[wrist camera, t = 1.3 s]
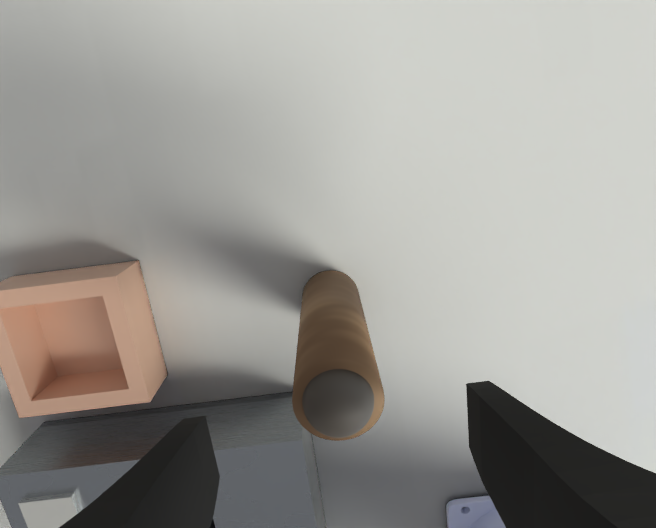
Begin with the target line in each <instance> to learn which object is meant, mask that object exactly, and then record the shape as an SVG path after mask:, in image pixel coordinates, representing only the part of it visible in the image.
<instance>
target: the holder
mask: <svg viewBox="0 0 656 528" xmlns="http://www.w3.org/2000/svg"><path fill="white" fill-rule="evenodd" d="M0 367H1V370H2V373H3V375H4V378H5V381H6V383H7V386H8V389H9V391H10V394H11V397H12V400H13V402H14V405H15V408H16V410H17V413H18V416H19V418H24V417H32V416H40V415H49V414H57V413H65V412H73V411H81V410H90V409H98V408H106V407H114V406H122V405H131V404H139V403H147V402H151V400H152V399H153V397H154V395H155V394H156V392H157V391H158V389H159V387H160V386H161V384H162V383H163V381H164V379H165V378H166V376H167V375H168V374H167V370H166V366H165V362H164V358H163V354H162V350H161V346H160V342H159V338H158V334H157V330H156V326H155V322H154V318H153V314H152V310H151V306H150V303H149V299H148V295H147V291H146V287H145V283H144V279H143V275H142V271H141V267H140V263H139V260H137V261H129V262H121V263H113V264H105V265H97V266H90V267H82V268H74V269H66V270H58V271H50V272H42V273H34V274H27V275H19V276H12V277H10V278H7V279H5V280H3V281H1V282H0Z"/></svg>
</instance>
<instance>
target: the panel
mask: <svg viewBox="0 0 656 528" xmlns="http://www.w3.org/2000/svg"><path fill="white" fill-rule="evenodd" d="M292 395H293V392H287V393H279V394H270V395H262V396H254V397H246V398H238V399H229V400H221V401H213V402H205V403H197V404H188V405H180V406H172V407H164V408H156V409H147V410H139V411H131V412H123V413H115V414H106V415H98V416H90V417H82V418H74V419H65V420H57V421H49V422H44V423H43V424H42V425H41V426H40V427H39V428H38V429H37V430H36V431H35V432H34V433H33V434H32V435H31V436H30V437H29V439H28V440H27V441H26V442H25V443H24V444H23V445H22V446H21V447H20V448H19V449H18V450H17V451H16V452H15V453H14V454H13V455H12V456H11V457H10V458H9V459H8V461H7V462H6V463H5V464H4V465H3V466H2V467H1V468H0V500H1V502H2V505H3V507H4V510H5V512H6V514H7V517H8V519H9V522H10V524H11V527H12V528H59V527H60V526H62V525H63V524H65V523H66V522H67V521H68V520H70V519H71V518H72V517H74V516H75V515H76V514H78V513H79V512H80V511H82V510H83V509H84V508H85V507H87V506H88V505H89V504H90V503H92V502H93V501H94V500H95V499H97V498H98V497H99V496H100V495H101V494H103V493H104V492H105V491H106V490H107V489H108V488H109V487H110V486H112V485H113V484H114V483H115V482H116V481H117V480H118V479H120V478H121V477H122V476H123V475H124V474H125V473H126V472H127V471H129V470H130V469H131V468H132V467H133V466H134V465H135V464H136V463H137V462H138V461H139V460H140V459H141V458H142V457H143V456H145V455H146V454H147V453H148V452H149V451H150V450H151V449H152V448H153V447H154V446H155V445H156V444H157V443H158V442H159V441H160V440H161V439H162V438H163V437H164V436H165V435H166V434H167V433H168V432H169V431H170V430H171V429H172V428H174V427H175V426H176V425H177V424H178V423H179V422H180V421H181V420H182V419H184V418H191V417H199V416H206V420H207V424H208V428H209V433H210V437H211V441H212V445H213V450H214V454H215V458H216V462H217V467H218V471H219V475H220V480H219V486H218V493H217V499H216V505H215V510H214V515H213V519H212V522H211V526H210V528H326V522H325V515H324V509H323V503H322V496H321V490H320V484H319V478H318V471H317V465H316V459H315V452H314V446H313V440H312V433H310V432H309V431H307V430H306V429H305V428H304V427H303V426H302V425H301V424H300V423H299V421H298V420H297V418H296V416H295V414H294V411H293V406H292Z"/></svg>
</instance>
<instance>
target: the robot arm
mask: <svg viewBox="0 0 656 528" xmlns="http://www.w3.org/2000/svg"><path fill="white" fill-rule="evenodd" d="M466 385H467V407H468V430H469V448H470V450H471V453H472V456H473V459H474V461H475V464H476V467H477V469H478V472H479V475H480V477H481V480H482V482H483V484H484V486H485V488H486V490H487V492H488V494H489V495H488V496H479V497H471V498H462V499H454V500H451V501H449V502H448V503H447V505H446V514H447V528H656V473H653V472H651V471H648V470H646V469H643V468H641V467H639V466H636V465H634V464H632V463H629V462H627V461H625V460H623V459H621V458H619V457H617V456H615V455H612V454H610V453H608V452H606V451H604V450H602V449H600V448H598V447H596V446H594V445H592V444H590V443H588V442H586V441H584V440H583V439H581V438H579V437H577V436H575V435H574V434H572V433H570V432H568V431H567V430H565V429H563V428H561V427H560V426H558V425H556V424H555V423H553V422H551V421H550V420H548V419H546V418H545V417H543V416H542V415H540V414H538V413H537V412H535V411H534V410H532V409H531V408H529V407H528V406H526V405H525V404H523V403H522V402H520V401H519V400H517V399H516V398H514V397H513V396H511V395H510V394H508V393H507V392H505V391H504V390H502V389H501V388H499V387H498V386H496V385H495V384H493V383H491V382H490V381H484V382H476V383H468V384H466ZM219 480H220V475H219V471H218V467H217V462H216V458H215V454H214V450H213V445H212V441H211V437H210V433H209V428H208V424H207V420H206V416H199V417H191V418H184V419H182V420H181V421H180V422H179V423H178V424H177V425H176V426H175V427H174V428H172V429H171V430H170V431H169V432H168V433H167V434H166V435H165V436H164V437H163V438H162V439H161V440H160V441H159V442H158V443H157V444H156V445H155V446H154V447H153V448H152V449H151V450H150V451H149V452H148V453H147V454H146V455H145V456H143V457H142V458H141V459H140V460H139V461H138V462H137V463H136V464H135V465H134V466H133V467H132V468H131V469H130V470H129V471H127V472H126V473H125V474H124V475H123V476H122V477H121V478H120V479H118V480H117V481H116V482H115V483H114V484H113V485H112V486H110V487H109V488H108V489H107V490H106V491H105V492H104V493H103V494H101V495H100V496H99V497H98V498H97V499H95V500H94V501H93V502H92V503H90V504H89V505H88V506H87V507H85V508H84V509H83V510H82V511H80V512H79V513H78V514H76V515H75V516H74V517H72V518H71V519H70V520H68V521H67V522H66V523H65V524H63V525H62V526H60V527H59V528H210V526H211V522H212V519H213V515H214V510H215V505H216V499H217V493H218V486H219ZM463 507H466V508H463Z"/></svg>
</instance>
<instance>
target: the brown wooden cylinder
mask: <svg viewBox="0 0 656 528" xmlns="http://www.w3.org/2000/svg"><path fill="white" fill-rule="evenodd" d="M292 406H293V411H294V414H295V416H296V418H297V420H298V421H299V423H300V424H301V425H302V426H303V427H304V428H305V429H306V430H307V431H309V432H310V433H312V434H313V435H315V436H318V437H320V438H323V439H327V440H337V441H338V440H347V439H352V438H355V437H357V436H360V435H362V434H363V433H365V432H366V431H368V430H369V429H370V428H371V427H372V426H374V424H375V423H376V422H377V421H378V419H379V417H380V416H381V413H382V411H383V407H384V392H383V387H382V383H381V379H380V376H379V372H378V368H377V364H376V360H375V356H374V352H373V348H372V344H371V340H370V336H369V332H368V328H367V324H366V320H365V316H364V312H363V308H362V304H361V300H360V296H359V293H358V289H357V286H356V284H355V283H354V281H353V280H352V279H351V278H350V277H349V276H347V275H346V274H344V273H342V272H339V271H333V270H329V271H323V272H320V273H318V274H316V275H314V276H313V277H312V278H310V280H309V281H308V282H307V283H306V285H305V287H304V290H303V295H302V305H301V315H300V325H299V335H298V345H297V355H296V365H295V375H294V385H293V395H292Z"/></svg>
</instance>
